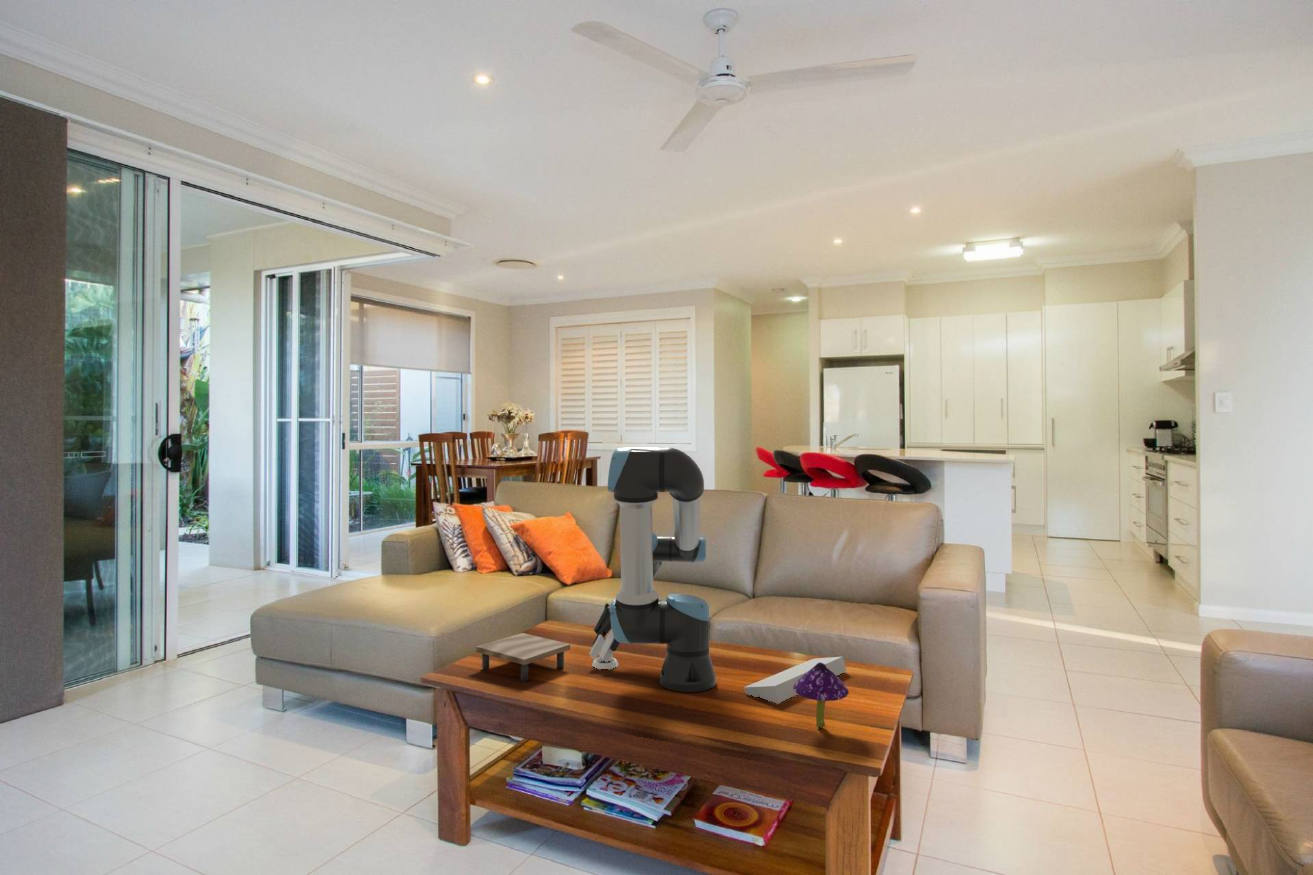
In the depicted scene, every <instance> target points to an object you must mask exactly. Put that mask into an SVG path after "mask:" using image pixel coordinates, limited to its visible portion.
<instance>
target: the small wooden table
mask: <svg viewBox="0 0 1313 875" xmlns="http://www.w3.org/2000/svg"><path fill="white" fill-rule="evenodd" d="M569 650H571V644H570V643H567V642H563V641H560V640H559V641H558V640H554V639H549V638H546V637H541V636H537V635H532V634H528V633H525V632H521V633H517V634H515V635H512V636H507V637H504V638H500V639H497V640H494V641H491V642H486V643H482V644H480V645H476V646H475V652H476V653H479V654H481V655H482V656H481V658H482V660H481V669H482V668H483V669H488V668H489V669H490V657H494V658H498V659H500V660H505V661H508V662H511V663H516V664H518V665H520V681H521V682H527V680H528V681H529V664H531V663H534V662H537V661H540V660H542V659H546V658H550V657H553V656H555V655H556V668H557V667H558V668H557V669H563V668H564V666H565V652H567V651H569ZM562 667H563V668H562ZM489 669H488V670H489Z"/></svg>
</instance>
